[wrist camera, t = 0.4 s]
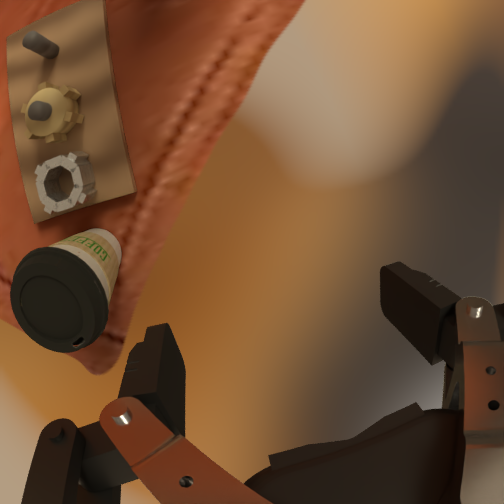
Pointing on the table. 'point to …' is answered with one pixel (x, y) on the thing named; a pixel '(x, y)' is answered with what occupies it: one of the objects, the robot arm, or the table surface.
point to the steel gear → (51, 186)
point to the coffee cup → (67, 290)
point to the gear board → (93, 102)
